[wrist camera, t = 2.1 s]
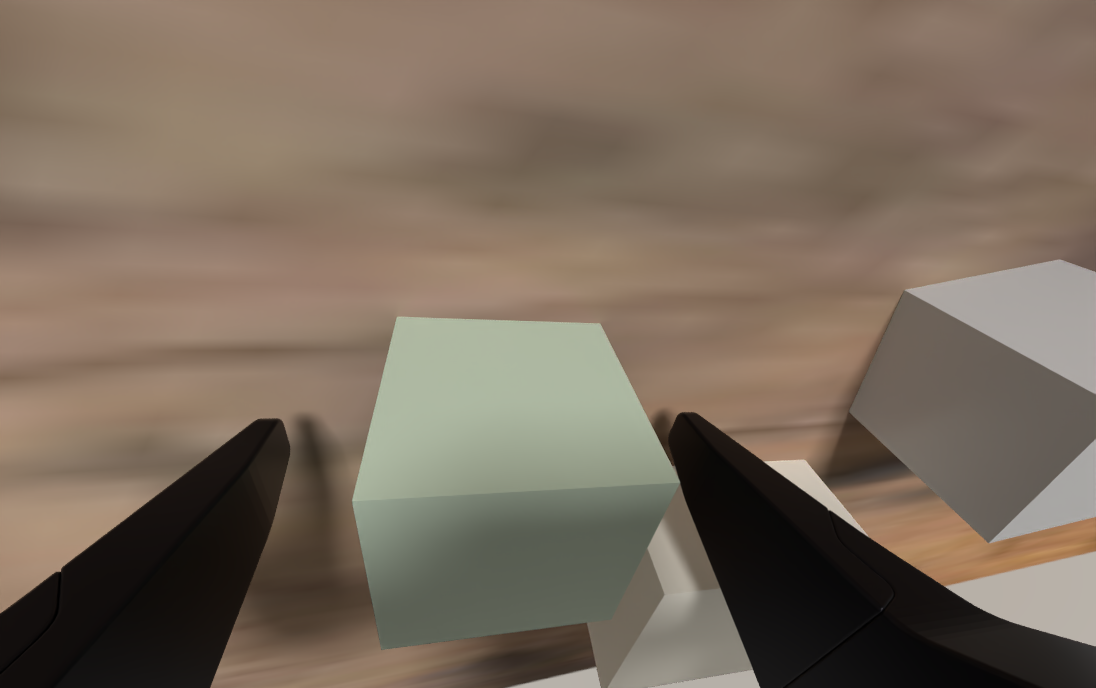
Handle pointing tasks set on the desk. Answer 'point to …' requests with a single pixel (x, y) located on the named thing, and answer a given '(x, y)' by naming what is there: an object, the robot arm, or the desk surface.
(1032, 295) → the grey cube
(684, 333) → the desk surface
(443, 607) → the sage cube
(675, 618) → the cream block
